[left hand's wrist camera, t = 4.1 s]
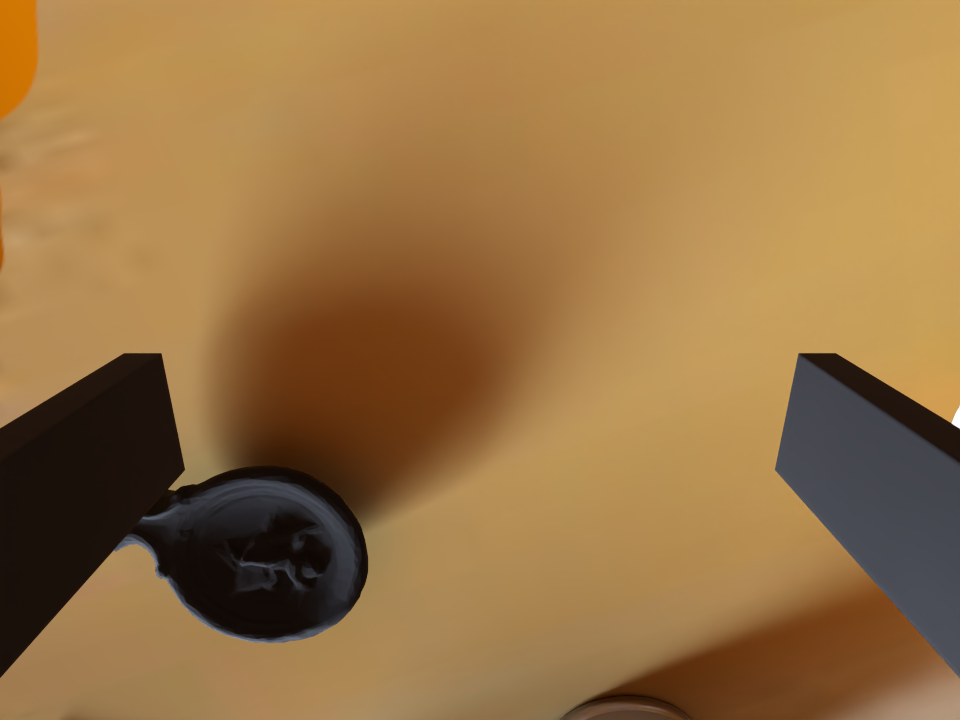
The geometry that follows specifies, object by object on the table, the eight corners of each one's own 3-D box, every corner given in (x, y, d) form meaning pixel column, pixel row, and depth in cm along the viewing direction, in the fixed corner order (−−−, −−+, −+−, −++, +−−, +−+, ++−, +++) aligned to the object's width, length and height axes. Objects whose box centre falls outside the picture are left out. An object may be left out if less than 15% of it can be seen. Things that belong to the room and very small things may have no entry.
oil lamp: (154, 386, 42) (114, 417, 38) (405, 484, 45) (397, 524, 41) (109, 541, 47) (68, 586, 42) (339, 621, 50) (325, 671, 45)
